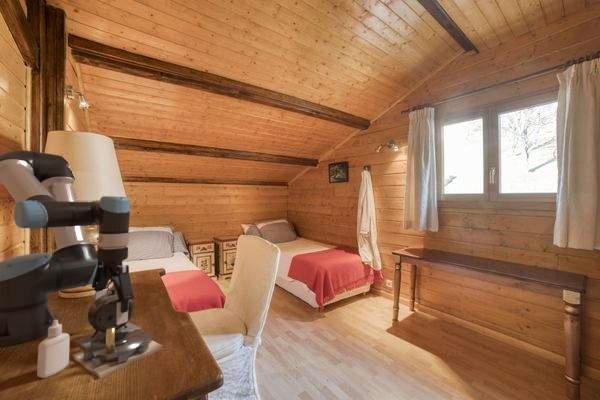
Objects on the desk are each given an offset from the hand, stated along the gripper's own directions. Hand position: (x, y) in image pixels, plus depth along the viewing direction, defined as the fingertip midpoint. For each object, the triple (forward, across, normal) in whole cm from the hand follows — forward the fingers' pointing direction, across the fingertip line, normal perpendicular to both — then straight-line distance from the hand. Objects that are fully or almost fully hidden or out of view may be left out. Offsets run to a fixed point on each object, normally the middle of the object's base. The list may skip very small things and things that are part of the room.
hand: (110, 317), depth 79 cm
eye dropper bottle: (+6, +8, -15) cm, 18 cm away
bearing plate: (+5, +12, -3) cm, 14 cm away
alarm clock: (+5, +1, 0) cm, 5 cm away
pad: (+5, 0, 0) cm, 6 cm away
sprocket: (+4, +12, -3) cm, 13 cm away
